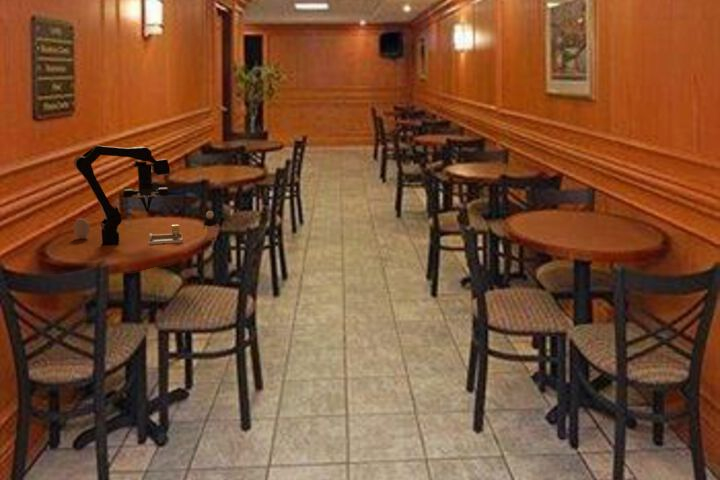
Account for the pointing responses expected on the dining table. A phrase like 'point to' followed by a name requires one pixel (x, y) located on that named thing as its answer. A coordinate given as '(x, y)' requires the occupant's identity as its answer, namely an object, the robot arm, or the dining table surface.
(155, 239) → the gauge board
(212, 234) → the grandmother figurine
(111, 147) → the robot arm
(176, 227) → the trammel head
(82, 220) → the egg
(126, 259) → the dining table surface
